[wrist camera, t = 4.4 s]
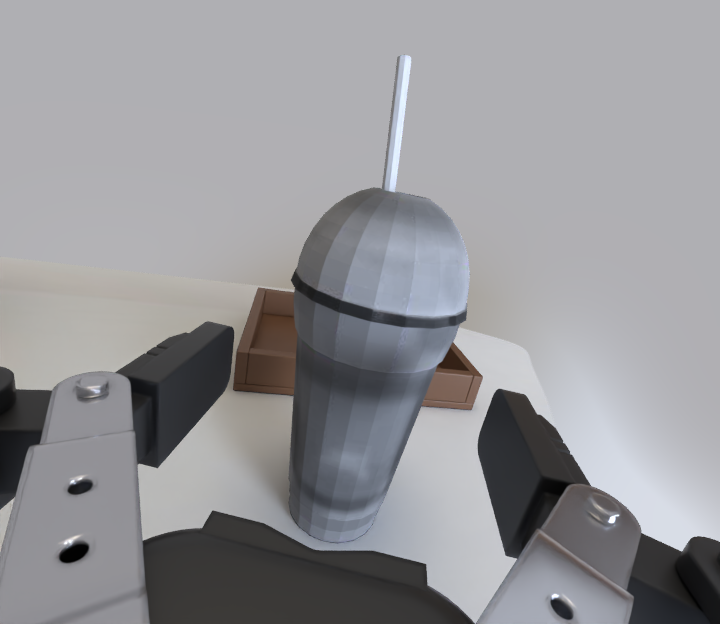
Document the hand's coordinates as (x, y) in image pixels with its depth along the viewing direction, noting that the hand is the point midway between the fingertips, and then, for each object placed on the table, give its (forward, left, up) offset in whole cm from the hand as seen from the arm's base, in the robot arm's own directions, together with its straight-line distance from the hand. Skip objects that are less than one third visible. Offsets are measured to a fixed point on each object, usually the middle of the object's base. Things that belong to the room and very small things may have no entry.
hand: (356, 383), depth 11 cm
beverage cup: (-3, +4, -10) cm, 11 cm away
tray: (-14, +17, -10) cm, 24 cm away
